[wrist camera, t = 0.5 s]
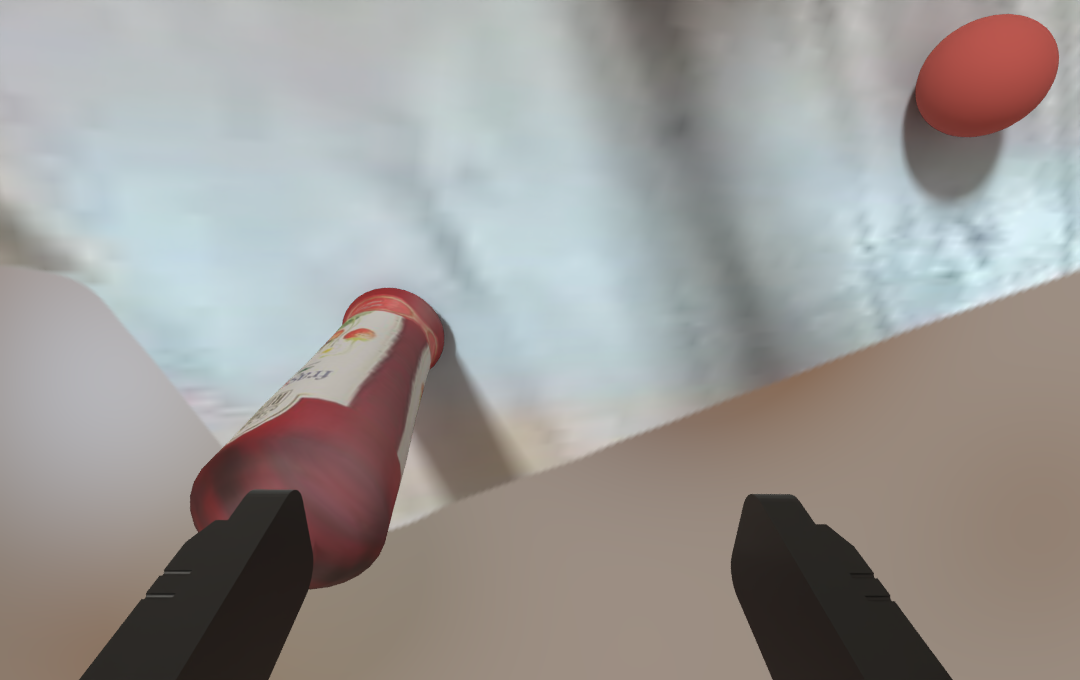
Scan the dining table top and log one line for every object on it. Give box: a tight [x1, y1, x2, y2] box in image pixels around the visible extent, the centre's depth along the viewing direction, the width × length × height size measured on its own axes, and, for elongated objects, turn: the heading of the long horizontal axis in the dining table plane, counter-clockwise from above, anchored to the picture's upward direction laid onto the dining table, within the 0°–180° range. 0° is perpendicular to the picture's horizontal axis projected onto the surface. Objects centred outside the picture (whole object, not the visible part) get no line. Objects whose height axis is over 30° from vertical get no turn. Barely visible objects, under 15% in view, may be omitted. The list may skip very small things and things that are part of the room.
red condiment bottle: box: [190, 288, 444, 589], centre depth 25 cm, size 7×7×28 cm
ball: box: [916, 14, 1059, 137], centre depth 29 cm, size 6×6×6 cm
